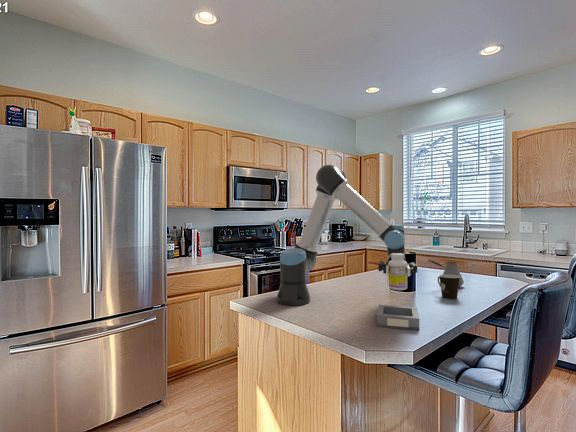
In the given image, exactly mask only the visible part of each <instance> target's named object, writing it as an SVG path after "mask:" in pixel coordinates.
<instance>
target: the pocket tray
mask: <svg viewBox="0 0 576 432" xmlns="http://www.w3.org/2000/svg"><path fill="white" fill-rule="evenodd" d="M376 327H379V328H391V329H401V330H410V331H411V330H413V331H420V315H419V310H418V307H413V306H403V305H390V304H389V305H386V304H378V307H377V312H376Z"/></svg>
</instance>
